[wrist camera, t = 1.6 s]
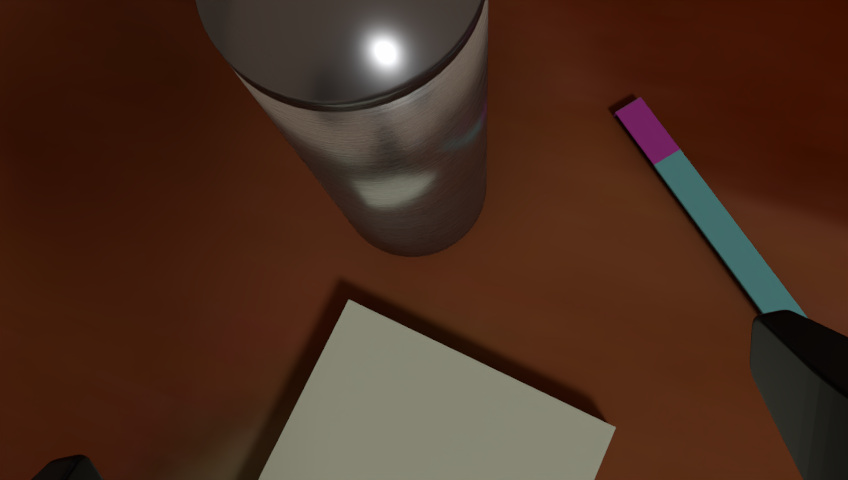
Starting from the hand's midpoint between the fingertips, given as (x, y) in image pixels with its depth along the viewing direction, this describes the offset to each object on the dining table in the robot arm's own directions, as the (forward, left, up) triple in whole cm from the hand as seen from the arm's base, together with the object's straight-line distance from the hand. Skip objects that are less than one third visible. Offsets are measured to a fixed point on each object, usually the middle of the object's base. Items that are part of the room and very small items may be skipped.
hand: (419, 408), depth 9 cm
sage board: (-3, 0, -13) cm, 13 cm away
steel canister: (+6, +4, -13) cm, 15 cm away
